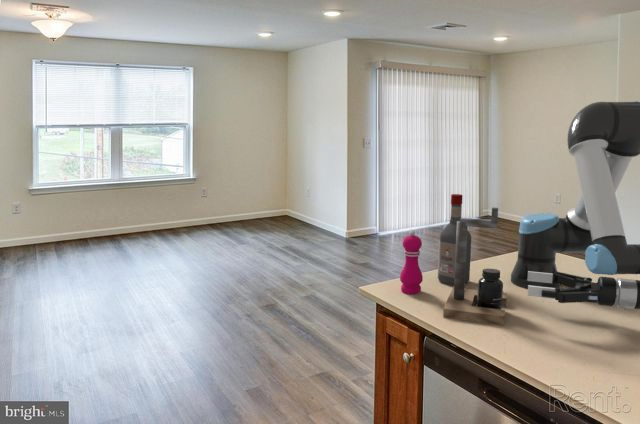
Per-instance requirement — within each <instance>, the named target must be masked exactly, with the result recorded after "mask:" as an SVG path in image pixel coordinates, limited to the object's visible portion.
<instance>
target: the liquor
mask: <svg viewBox="0 0 640 424" xmlns="http://www.w3.org/2000/svg"><path fill="white" fill-rule="evenodd" d="M462 204H463V194H459V193H453V194H451V195H450V205H451V206H450V217H449V218H450V219H449V223H448V224H447V225H446V226H445V227H444V228H443V229H442V230H441V231H440V232H439V234H438V255H437V256H438V257H437V258H438V259H437V261H438V262H437V279H438V281H439V282H440V283H441V284H445V285H448V286H449V285H450V286H453V287H454V277H455V254H456V230H457V221H460V219H461V218H462ZM471 252H472V235H471V232H470V231H469V230H468V229H467V248H466V270H465V284H468V283H469V282H470V277H471V276H470V275H471V274H470V273H471Z"/></svg>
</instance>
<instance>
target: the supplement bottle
mask: <svg viewBox="0 0 640 424" xmlns="http://www.w3.org/2000/svg"><path fill="white" fill-rule="evenodd" d="M481 276H482V278H479V280H478V282H477V290H478V294H477V303H476V307H484V308H492V309H500V310H502V307H503V306H502V294H503V293H504V283H503V281H502V280H501V271H500V270H499V269H496V268H484V269H482V274H481Z"/></svg>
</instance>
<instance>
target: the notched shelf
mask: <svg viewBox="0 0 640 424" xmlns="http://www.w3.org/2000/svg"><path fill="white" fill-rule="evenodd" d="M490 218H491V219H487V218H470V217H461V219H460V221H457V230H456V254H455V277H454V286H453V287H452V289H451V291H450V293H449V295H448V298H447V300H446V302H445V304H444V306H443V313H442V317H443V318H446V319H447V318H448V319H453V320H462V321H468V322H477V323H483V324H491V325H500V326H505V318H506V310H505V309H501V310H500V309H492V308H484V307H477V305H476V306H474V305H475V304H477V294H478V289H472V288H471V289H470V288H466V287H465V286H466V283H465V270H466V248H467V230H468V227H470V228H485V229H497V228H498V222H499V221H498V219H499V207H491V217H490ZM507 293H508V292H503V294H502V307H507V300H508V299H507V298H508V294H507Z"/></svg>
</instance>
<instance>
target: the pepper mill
mask: <svg viewBox="0 0 640 424" xmlns="http://www.w3.org/2000/svg"><path fill="white" fill-rule="evenodd" d="M422 244H423V243H422V239H421V238H420V237H419V236H417V235H416V232H415V230H410V231H409V235H407V236H405V237H404V238H403V240H402V248H403V249H404V250H403V252H404V253H403V255H404V256H405V259H404V260H405V262H404V266H403V268H402V269H401V272H400V275H399V280H400V282H401V283H402V284H401V286H400V287H401V288H400V291H401V292H402V293H404V294H407V295H417V294H420V293H421V291H422V286H421V284H422V282H423V280H424V279H423V277H424V276H423V273H422V270H421V268H420V265H419V257H420V255H421V251H420V249H421V248H422Z"/></svg>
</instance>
